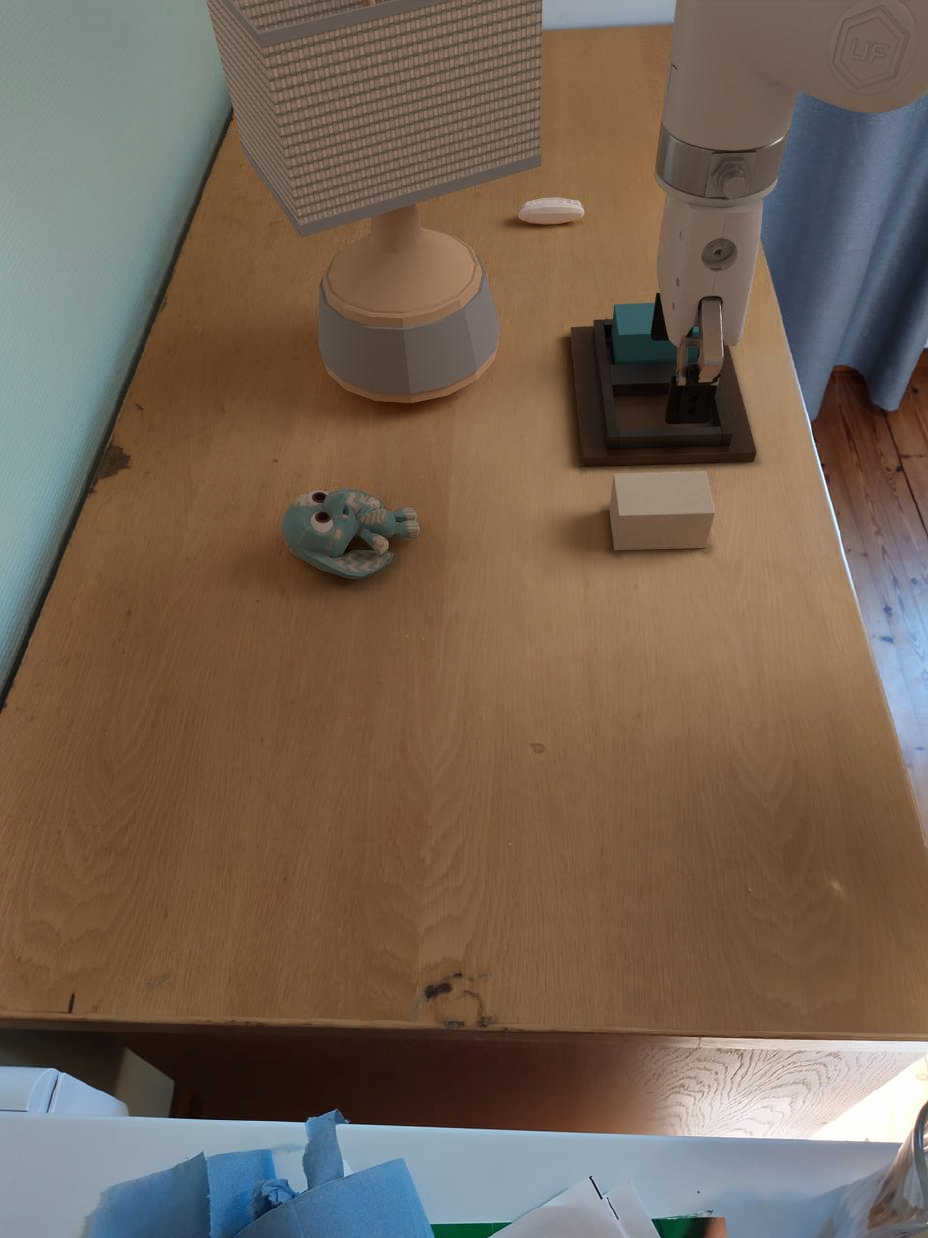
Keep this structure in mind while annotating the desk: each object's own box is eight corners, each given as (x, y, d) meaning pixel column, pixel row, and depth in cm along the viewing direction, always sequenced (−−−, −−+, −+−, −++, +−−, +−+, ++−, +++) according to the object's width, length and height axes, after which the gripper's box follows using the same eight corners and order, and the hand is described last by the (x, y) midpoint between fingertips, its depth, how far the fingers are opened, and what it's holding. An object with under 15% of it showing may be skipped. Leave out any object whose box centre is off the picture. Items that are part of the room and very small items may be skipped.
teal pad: (687, 338, 93) (694, 300, 89) (694, 369, 90) (701, 331, 86) (610, 341, 93) (614, 303, 89) (614, 372, 90) (618, 334, 87)
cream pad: (698, 506, 80) (706, 470, 77) (706, 548, 77) (715, 512, 74) (609, 508, 81) (613, 473, 77) (614, 550, 78) (618, 515, 74)
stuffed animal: (434, 533, 73) (285, 542, 70) (425, 589, 78) (287, 600, 76) (412, 445, 79) (274, 450, 76) (405, 503, 85) (277, 510, 82)
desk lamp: (465, 284, 103) (442, -115, 73) (544, 377, 92) (555, -45, 63) (287, 342, 98) (186, -60, 68) (349, 447, 87) (261, 26, 58)
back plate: (720, 330, 95) (724, 308, 93) (754, 461, 83) (760, 439, 81) (570, 336, 96) (571, 314, 94) (582, 466, 84) (584, 445, 82)
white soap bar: (583, 226, 108) (585, 204, 106) (518, 228, 109) (518, 206, 107) (582, 212, 110) (584, 190, 108) (518, 215, 111) (518, 193, 108)
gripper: (811, 227, 49) (746, 456, 63) (757, 84, 59) (711, 308, 73) (674, 232, 49) (639, 458, 63) (643, 89, 60) (619, 311, 73)
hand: (677, 377), depth 68 cm, fingers open, 9 cm apart
